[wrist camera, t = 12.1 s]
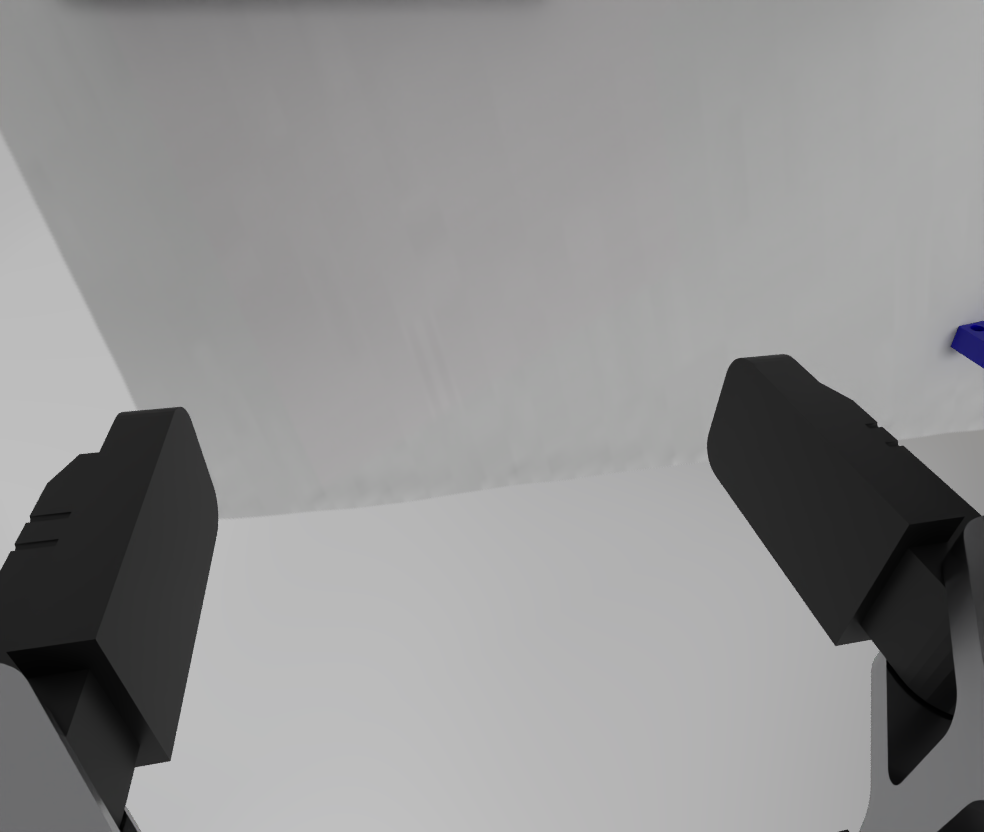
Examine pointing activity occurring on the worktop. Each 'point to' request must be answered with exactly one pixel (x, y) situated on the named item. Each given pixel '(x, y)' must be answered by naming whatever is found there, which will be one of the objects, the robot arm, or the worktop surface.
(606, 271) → the worktop surface
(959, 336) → the cable holder
